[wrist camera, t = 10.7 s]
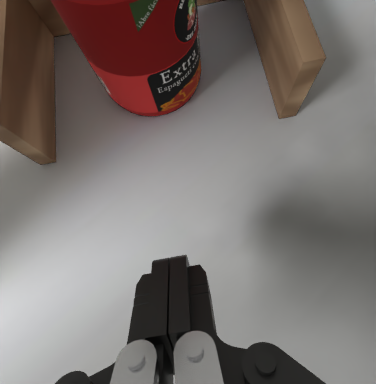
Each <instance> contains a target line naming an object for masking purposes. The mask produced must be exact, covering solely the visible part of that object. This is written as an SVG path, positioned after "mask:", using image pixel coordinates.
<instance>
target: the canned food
mask: <svg viewBox="0 0 376 384" xmlns="http://www.w3.org/2000/svg"><path fill="white" fill-rule="evenodd" d="M51 2H52V4H53V5H54V7H55V8H56V10H57V12H58V13H59V15H60V16H61V18H62V20H63V21H64V23H65V25H66V26H67V28H68V29H69V31H70V33H71V34H72V36H73V38H74V39H75V41H76V42H77V44H78V46H79V47H80V49H81V51H82V52H83V54H84V55H85V57H86V59H87V60H88V62H89V64H90V65H91V67H92V68H93V70H94V72H95V73H96V75H97V77H98V78H99V80H100V81H101V83H102V85H103V86H104V88H105V90H106V91H107V93H108V94H109V95H110V97H111V98H112V99H113V100H114V101H115V102H116V103H118V104H119V105H120V106H121V107H123V108H124V109H126V110H128V111H130V112H131V113H135V114H138V115H142V116H159V115H164V114H168V113H170V112H173V111H175V110H177V109H178V108H180V107H181V106H183V105H184V104H185V103H186V102H187V101H188V100H189V99H190V98H191V96H192V95H193V94H194V92H195V89H196V87H197V85H198V82H199V79H200V74H201V61H200V44H199V28H198V12H197V0H51Z"/></svg>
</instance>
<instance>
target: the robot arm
mask: <svg viewBox="0 0 376 384" xmlns="http://www.w3.org/2000/svg"><path fill="white" fill-rule="evenodd" d="M173 375H175V383H176V384H326V383H324V382H323V381H322V380H320V379H319V378H318V377H316V376H315V375H314V374H313V373H311V372H310V371H309V370H307V369H306V368H305V367H303V366H302V365H301V364H299V363H298V362H297V361H296V360H294V359H293V358H292V357H290V356H289V355H288V354H286V353H285V352H284V351H282V350H281V349H280V348H278V347H277V346H275V345H273V344H270V343H266V342H259V343H255V344H253V345H251V346H250V347H249V348H248V349H243V348H237V347H233V346H230V345H227V344H226V343H224V342H223V341H222V340H220V338H219V337H218V336H217V333H216V326H215V320H214V313H213V307H212V300H211V294H210V290H209V285H208V280H207V276H206V272H205V271H204V270H203V268H202V267H201V266H200V265H195V266H189V262H188V258H187V255H182V256H176V257H171V258H165V259H160V260H154V261H153V262H152V271H151V273H150V274H144V275H142V277H141V279H140V280H139V282H138V284H137V286H136V292H135V298H134V307H133V311H132V317H131V323H130V329H129V336H128V342H127V345H126V346H125V347H124V348H123V349H122V350H121V352H120V353H119V355H118V357H117V359H116V362H115V363H113V364H112V365H111V366H109V367H107V368H105V369H103V370H101V371H100V372H98V373H96V374H94V375H92V376H90V377H88V376H87V374H85V373H84V372H81V371H74V372H70V373H68V374H66V375H64V376H63V377H62V378H60V379H59V380H58V381H57V382H56V383H55V384H173Z"/></svg>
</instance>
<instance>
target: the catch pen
mask: <svg viewBox="0 0 376 384" xmlns="http://www.w3.org/2000/svg"><path fill="white" fill-rule="evenodd" d="M219 1H223V0H197V6H200V5H205V4H210V3H214V2H219ZM243 1H244V4H245V8H246V11H247V14H248V18H249V21H250V24H251V28H252V31H253V34H254V37H255V41H256V44H257V47H258V51H259V54H260V57H261V61H262V64H263V67H264V71H265V74H266V77H267V81H268V84H269V87H270V91H271V94H272V97H273V100H274V104H275V107H276V110H277V114H278V117H279V119H281V118H286V117H291V116H296V114H297V112H298V110H299V108H300V106H301V104H302V102H303V101H304V99H305V97H306V95H307V93H308V91H309V89H310V87H311V85H312V84H313V82H314V80H315V78H316V76H317V74H318V72H319V70H320V68H321V67H322V65H323V63H324V61H325V59H326V56H325V54H324V51H323V49H322V46H321V44H320V41H319V38H318V36H317V33H316V31H315V28H314V26H313V23H312V21H311V18H310V16H309V13H308V10H307V8H306V5H305V3H304V0H243ZM66 34H71V33H70V31H69V29H68V28H67V26H66V25H65V23H64V21H63V20H62V18H61V16H60V15H59V13H58V12H57V10H56V8H55V7H54V5H53V4H52V2H51V0H0V141H2V142H3V143H5V144H7V145H8V146H10V147H12V148H13V149H15V150H17V151H18V152H20V153H22V154H23V155H25V156H27V157H28V158H30V159H32V160H33V161H35V162H37V163H38V164H40V165H43V164H48V163H53V162H56V139H55V70H54V37H57V36H62V35H66Z"/></svg>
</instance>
